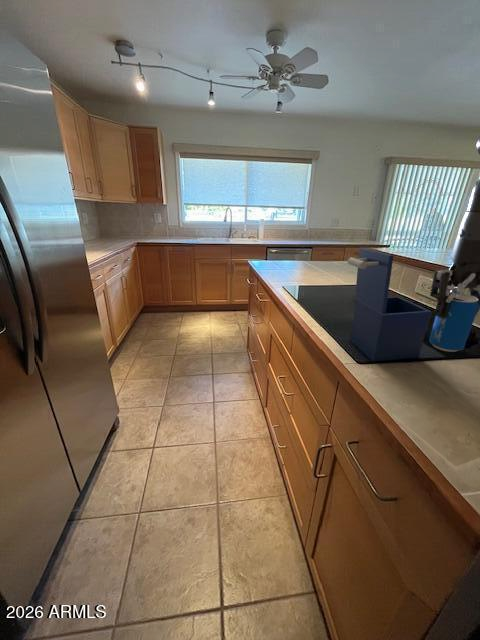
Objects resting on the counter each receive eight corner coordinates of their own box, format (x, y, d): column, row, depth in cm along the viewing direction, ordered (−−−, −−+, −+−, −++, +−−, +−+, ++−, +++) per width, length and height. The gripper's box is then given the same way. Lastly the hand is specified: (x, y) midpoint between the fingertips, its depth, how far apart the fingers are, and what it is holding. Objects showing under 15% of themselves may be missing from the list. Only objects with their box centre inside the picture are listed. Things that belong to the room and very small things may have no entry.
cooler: (389, 336, 84) (398, 296, 79) (418, 357, 73) (431, 311, 67) (349, 340, 83) (356, 299, 77) (373, 361, 71) (383, 315, 66)
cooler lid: (362, 247, 71) (341, 250, 71) (393, 255, 60) (369, 258, 59) (358, 297, 77) (338, 299, 77) (385, 312, 66) (362, 316, 65)
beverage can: (421, 342, 62) (435, 294, 57) (441, 337, 64) (457, 290, 59) (448, 355, 57) (465, 304, 52) (470, 350, 58) (489, 299, 53)
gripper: (465, 240, 46) (439, 325, 53) (536, 236, 48) (502, 320, 54) (431, 236, 53) (412, 312, 60) (495, 232, 54) (469, 307, 61)
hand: (455, 315), depth 57 cm, fingers closed on beverage can, 6 cm apart
